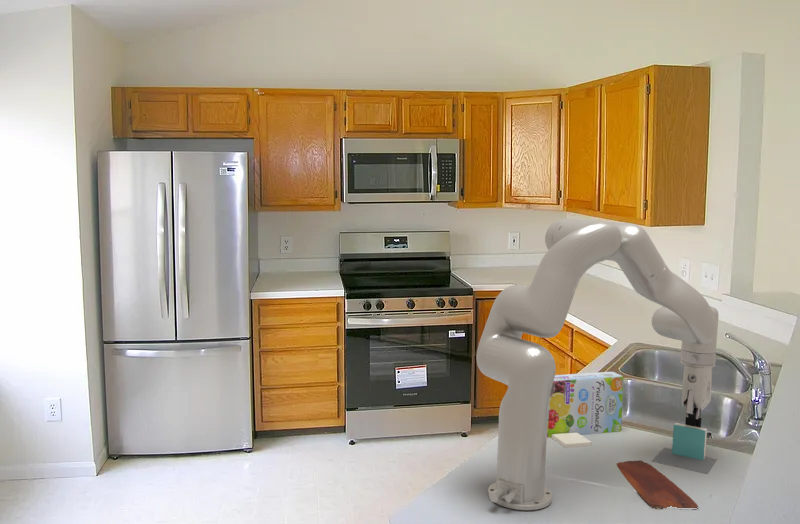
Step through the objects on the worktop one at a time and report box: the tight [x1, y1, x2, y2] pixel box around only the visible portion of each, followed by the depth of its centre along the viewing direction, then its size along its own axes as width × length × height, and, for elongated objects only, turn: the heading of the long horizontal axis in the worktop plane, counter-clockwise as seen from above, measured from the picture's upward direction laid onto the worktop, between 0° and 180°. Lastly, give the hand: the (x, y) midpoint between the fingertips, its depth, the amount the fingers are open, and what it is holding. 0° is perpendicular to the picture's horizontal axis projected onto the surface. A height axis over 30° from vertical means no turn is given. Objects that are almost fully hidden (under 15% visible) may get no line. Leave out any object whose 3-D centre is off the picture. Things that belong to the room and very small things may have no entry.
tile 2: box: [671, 422, 708, 460], centre depth 166 cm, size 2×7×7 cm, turn 55°
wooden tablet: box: [616, 460, 699, 510], centre depth 152 cm, size 27×10×2 cm, turn 3°
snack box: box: [547, 371, 625, 438], centre depth 181 cm, size 21×6×15 cm, turn 107°
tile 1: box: [551, 432, 593, 449], centre depth 174 cm, size 7×7×2 cm
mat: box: [651, 447, 718, 475], centre depth 164 cm, size 11×12×1 cm
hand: (692, 433), depth 169 cm, fingers closed
